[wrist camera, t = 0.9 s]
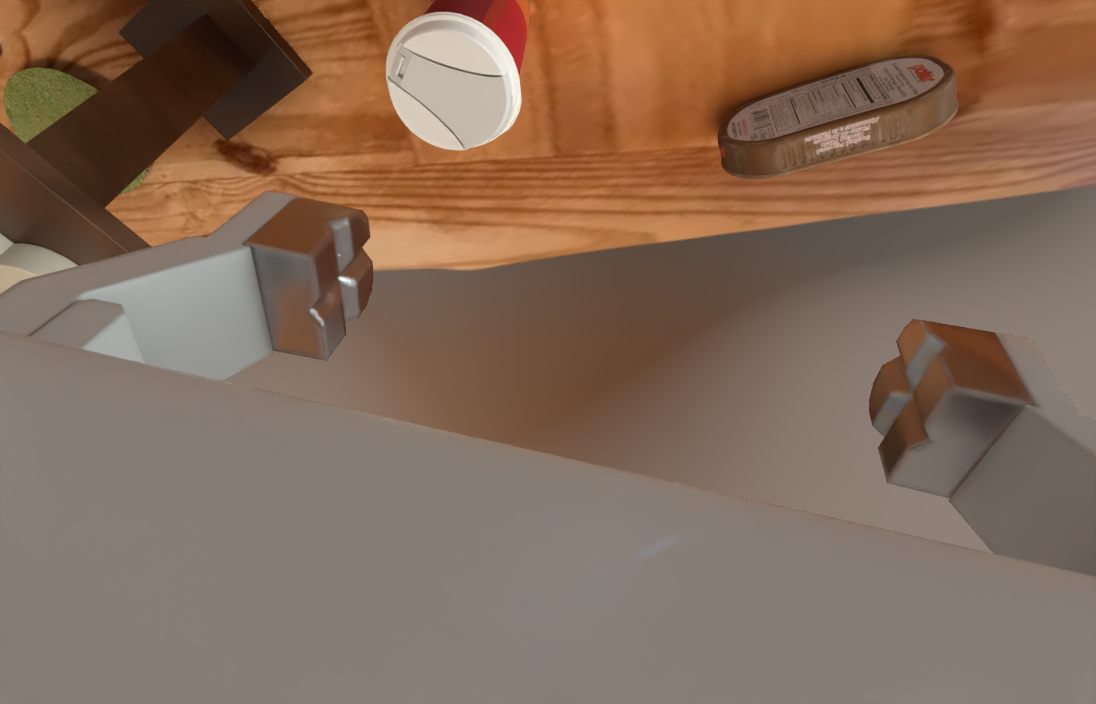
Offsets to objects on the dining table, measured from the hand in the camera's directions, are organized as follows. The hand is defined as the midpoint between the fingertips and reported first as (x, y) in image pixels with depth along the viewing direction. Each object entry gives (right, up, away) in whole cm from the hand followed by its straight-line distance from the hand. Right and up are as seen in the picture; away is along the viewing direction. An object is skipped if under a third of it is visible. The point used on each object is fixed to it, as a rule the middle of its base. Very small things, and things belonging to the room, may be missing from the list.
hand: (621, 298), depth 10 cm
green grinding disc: (-40, +19, +46) cm, 64 cm away
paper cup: (-5, +23, +36) cm, 43 cm away
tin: (+19, +18, +38) cm, 46 cm away
